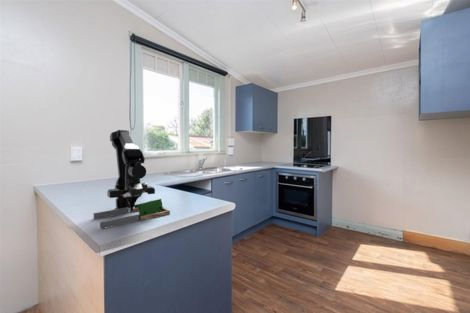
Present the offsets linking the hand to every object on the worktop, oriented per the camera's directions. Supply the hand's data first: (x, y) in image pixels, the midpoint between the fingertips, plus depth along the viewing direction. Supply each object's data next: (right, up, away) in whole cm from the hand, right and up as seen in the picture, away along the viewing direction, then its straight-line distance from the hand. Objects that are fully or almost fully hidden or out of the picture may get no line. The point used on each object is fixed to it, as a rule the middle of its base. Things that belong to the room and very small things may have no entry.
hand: (131, 210), depth 101 cm
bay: (+6, -2, +5) cm, 8 cm away
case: (-5, -3, -4) cm, 7 cm away
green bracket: (+6, -3, +5) cm, 8 cm away
